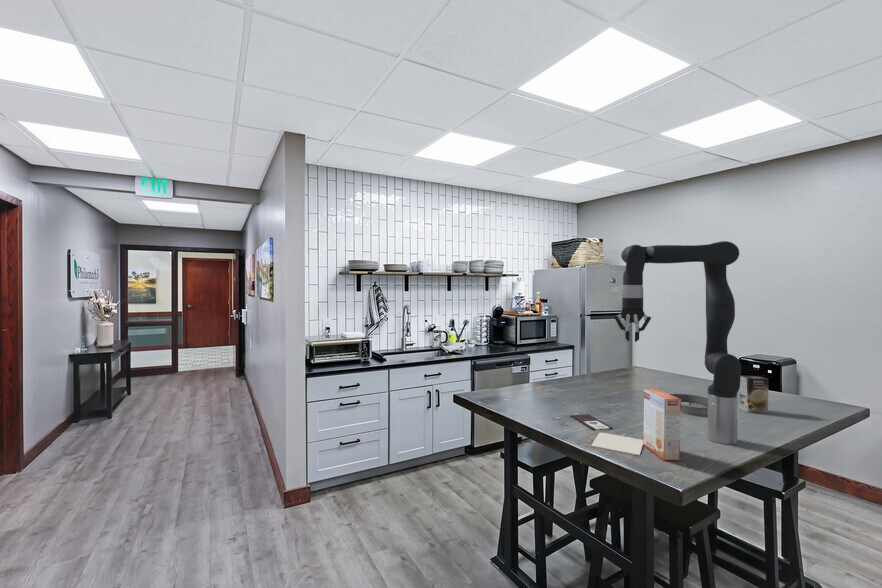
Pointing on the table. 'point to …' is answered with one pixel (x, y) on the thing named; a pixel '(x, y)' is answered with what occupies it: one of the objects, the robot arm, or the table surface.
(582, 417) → the chocolate bar
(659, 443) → the cracker box
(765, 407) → the coffee box
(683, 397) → the cake pan
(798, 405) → the table surface
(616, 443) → the mat
